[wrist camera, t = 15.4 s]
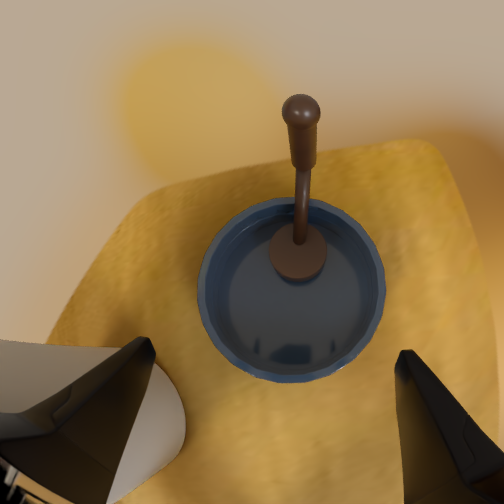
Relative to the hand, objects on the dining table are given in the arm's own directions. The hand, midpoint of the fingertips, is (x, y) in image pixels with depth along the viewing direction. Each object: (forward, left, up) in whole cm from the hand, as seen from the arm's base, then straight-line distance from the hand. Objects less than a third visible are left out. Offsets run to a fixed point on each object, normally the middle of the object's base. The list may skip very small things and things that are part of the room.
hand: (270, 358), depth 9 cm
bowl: (+4, +1, -14) cm, 14 cm away
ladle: (+9, +1, -12) cm, 15 cm away
